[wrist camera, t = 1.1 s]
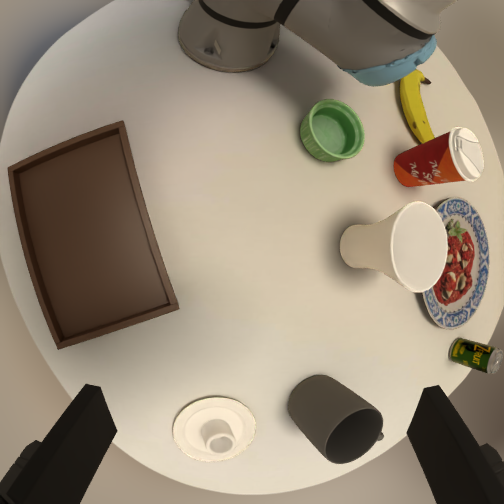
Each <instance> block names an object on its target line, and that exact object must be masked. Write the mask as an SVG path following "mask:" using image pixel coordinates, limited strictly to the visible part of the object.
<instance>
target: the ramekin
mask: <svg viewBox="0 0 504 504" xmlns="http://www.w3.org/2000/svg"><path fill="white" fill-rule="evenodd" d="M300 135H301V139H302V142H303V144H304V146H305V148H306V149H307V150H308V151H309V153H310V154H311V155H313V156H314V157H315V158H317V159H319V160H322V161H326V162H333V161H337V160H340V159H348V158H352V157H354V156H356V155H357V154H358V153H359V152H360V151H361V149H362V147H363V144H364V138H365V135H364V129H363V125H362V123H361V121H360V119H359V117H358V116H357V114H356V113H355V112H354V111H353V110H352V109H351V108H350V107H349V106H348V105H346V104H345V103H343V102H341V101H338V100H334V99H324V100H321V101H319V102H317V103H316V104H315V105H314V106H313V107H312V109H311V110H310V112H309V113H308V114H307V116H306V117H305V118H304V119H303V121H302V124H301V127H300Z"/></svg>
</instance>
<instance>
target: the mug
mask: <svg viewBox="0 0 504 504" xmlns="http://www.w3.org/2000/svg"><path fill="white" fill-rule="evenodd" d="M288 411H289V414H290V416H291V418H292V420H293V421H294V422H295V424H296V425H297V426H298V427H299V429H300V430H301V431H302V432H303V433H304V435H305V436H306V437H307V438H308V439H309V440H310V442H311V443H312V444H313V445H314V446H315V447H316V448H317V449H318V451H319V452H320V453H321V454H322V455H323V456H324V457H325V458H326V459H328V460H329V461H330V462H332V463H336V464H344V463H349V462H351V461H354V460H356V459H358V458H359V457H361V456H362V455H364V454H365V453H366V452H367V451H368V450H369V449H370V448H371V447H372V446H373V445H374V444H375V442H376V441H380V440H382V439H383V437H384V435H383V433H382V432H381V431H382V427H383V418H382V415H381V413H380V412H379V411H378V410H377V409H376V408H375V407H374V406H372V405H371V404H370V403H368V402H367V401H366V400H364V399H363V398H361V397H360V396H358V395H357V394H356V393H354V392H353V391H351V390H350V389H348V388H347V387H345V386H344V385H342V384H341V383H339V382H338V381H336V380H335V379H333V378H331V377H329V376H325V375H317V376H312V377H310V378H308V379H306V380H304V381H303V382H301V383H300V384H299V385H298V386H297V387H296V388H295V389H294V391H293V392H292V394H291V396H290V398H289V402H288Z"/></svg>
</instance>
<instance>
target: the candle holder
mask: <svg viewBox="0 0 504 504" xmlns="http://www.w3.org/2000/svg"><path fill="white" fill-rule="evenodd" d="M255 431H256V423H255V419H254V416H253V414H252V413H251V411H250V410H249V409H248V408H247V407H246V406H245V405H243V404H242V403H240V402H238V401H235V400H232V399H229V398H222V397H214V398H206V399H202V400H199V401H197V402H194V403H192V404H191V405H189V406H188V407H186V408H185V409H184V410H183V411H182V412H181V413H180V414H179V415H178V417H177V418H176V420H175V423H174V426H173V437H174V440H175V442H176V444H177V446H178V447H179V448H180V450H181V451H182V452H184V453H185V454H186V455H188V456H189V457H191V458H193V459H196V460H200V461H204V462H216V461H223V460H227V459H230V458H232V457H234V456H236V455H238V454H240V453H241V452H242V451H244V450H245V449H246V448H247V447H248V446H249V444H250V443H251V441H252V440H253V438H254V435H255Z"/></svg>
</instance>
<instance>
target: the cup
mask: <svg viewBox="0 0 504 504" xmlns="http://www.w3.org/2000/svg"><path fill="white" fill-rule="evenodd" d="M447 250H448V243H447V234H446V230H445V226H444V224H443V222H442V219H441V217H440V215H439V214H438V213H437V212H436V210H435V209H434V208H433V207H431V206H430V205H429V204H427V203H425V202H421V201H416V202H411V203H409V204H408V205H406V206H404V207H403V208H401V209H400V210H398V211H397V212H396V213H394V214H392V215H391V216H389V217H388V218H386V219H384V220H382V221H380V222H377V223H375V224H370V225H352V226H350V227H348V228H347V229H346V230H345V231H344V233H343V235H342V237H341V240H340V253H341V256H342V258H343V260H344V261H345V263H346V264H347V265H349V266H350V267H352V268H369V269H374V270H377V271H380V272H382V273H384V274H385V275H387V276H389V277H390V278H392V279H393V280H395V281H396V282H398V283H399V284H400V285H402V286H403V287H405V288H406V289H408V290H410V291H412V292H424V291H426V290H429V289H430V288H431V287H432V286H433V285H435V284H436V282H437V281H438V279H439V278H440V277H441V275H442V272H443V270H444V267H445V264H446V259H447Z"/></svg>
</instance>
